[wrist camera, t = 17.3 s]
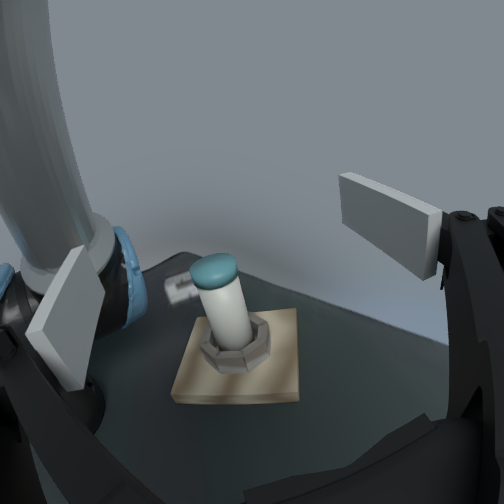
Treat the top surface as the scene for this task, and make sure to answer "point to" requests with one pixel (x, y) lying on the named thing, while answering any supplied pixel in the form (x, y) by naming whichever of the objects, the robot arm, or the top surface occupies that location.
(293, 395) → the collar base
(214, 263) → the canister
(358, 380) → the top surface
